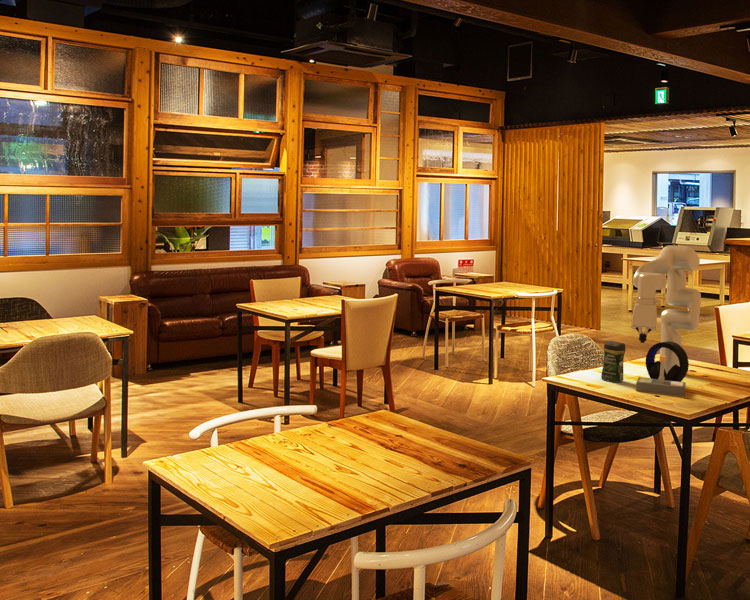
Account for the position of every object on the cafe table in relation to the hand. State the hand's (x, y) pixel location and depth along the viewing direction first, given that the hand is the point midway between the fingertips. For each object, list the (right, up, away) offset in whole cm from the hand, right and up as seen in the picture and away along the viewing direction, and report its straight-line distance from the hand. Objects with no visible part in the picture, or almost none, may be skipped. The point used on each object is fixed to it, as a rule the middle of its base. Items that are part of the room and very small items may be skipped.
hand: (642, 342), depth 345 cm
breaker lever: (+8, -16, -1) cm, 18 cm away
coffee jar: (-8, -19, +17) cm, 27 cm away
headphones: (+14, -20, +12) cm, 28 cm away
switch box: (+8, -22, 0) cm, 23 cm away
